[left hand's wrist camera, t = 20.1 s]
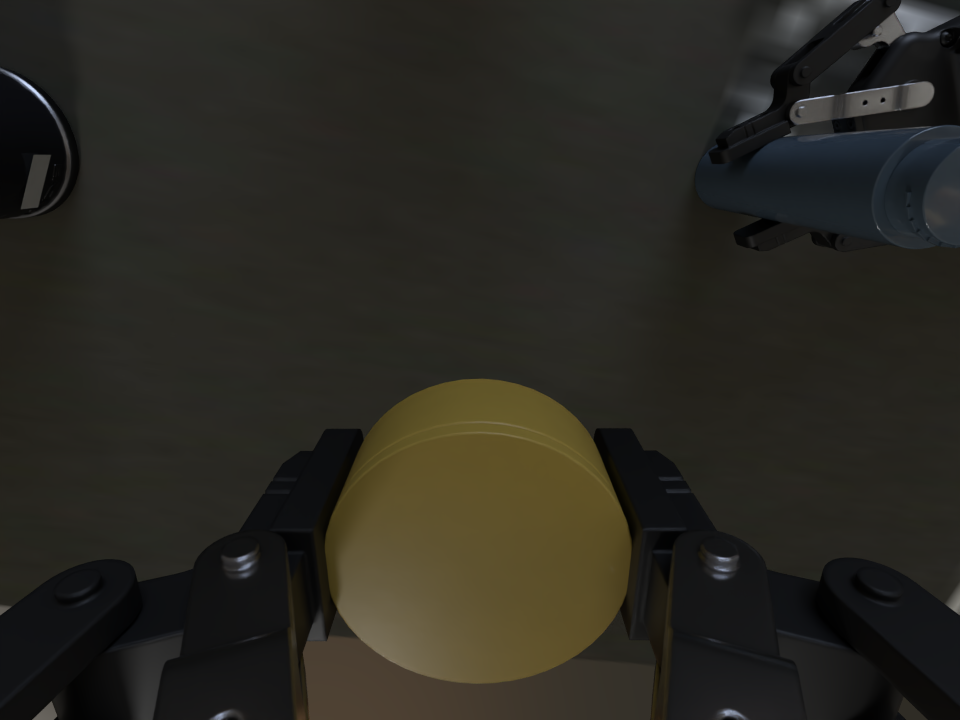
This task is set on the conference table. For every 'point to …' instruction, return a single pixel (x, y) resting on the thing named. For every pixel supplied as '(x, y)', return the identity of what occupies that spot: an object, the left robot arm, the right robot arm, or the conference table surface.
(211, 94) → the conference table surface
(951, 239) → the dark blue cylinder
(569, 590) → the lid
